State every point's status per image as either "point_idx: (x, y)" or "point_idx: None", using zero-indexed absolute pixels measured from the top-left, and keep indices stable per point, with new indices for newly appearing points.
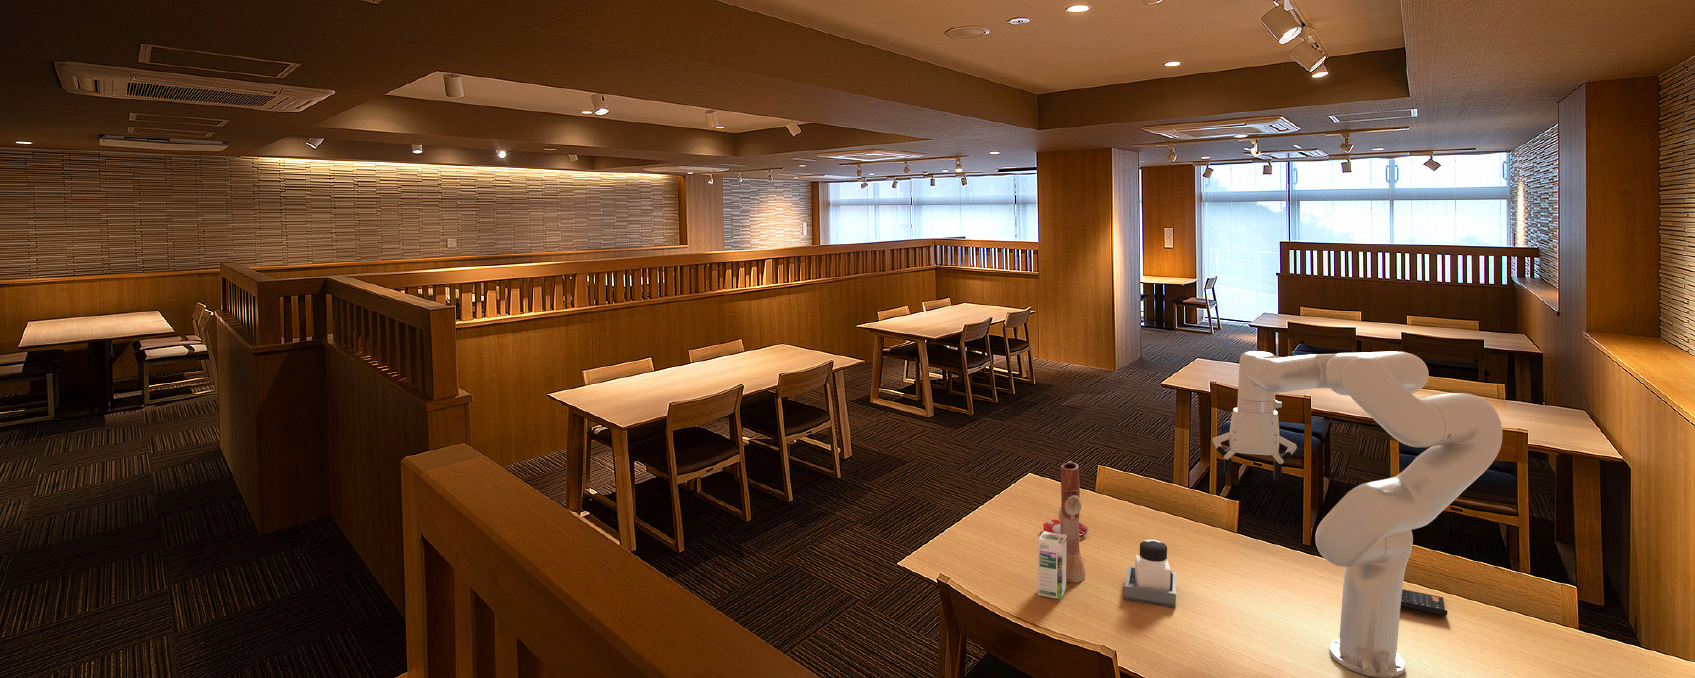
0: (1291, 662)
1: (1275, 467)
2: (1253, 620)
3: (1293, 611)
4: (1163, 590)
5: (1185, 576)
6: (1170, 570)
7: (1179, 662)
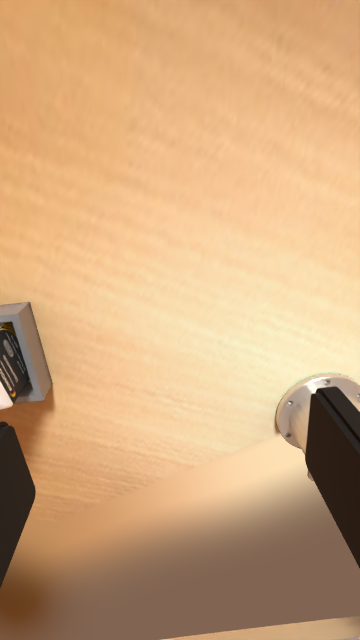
0: (224, 451)
1: (356, 557)
2: (176, 370)
3: (241, 313)
4: (19, 397)
5: (35, 249)
6: (10, 406)
7: (92, 503)
